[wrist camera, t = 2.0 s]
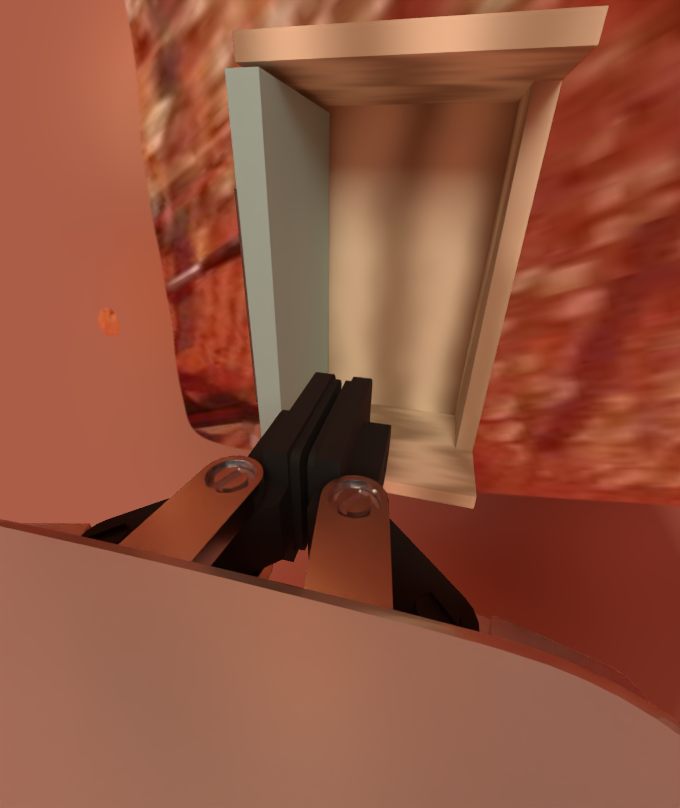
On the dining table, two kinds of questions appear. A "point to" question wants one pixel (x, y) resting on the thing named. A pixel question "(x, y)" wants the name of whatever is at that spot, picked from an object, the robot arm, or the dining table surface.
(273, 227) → the panel
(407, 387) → the wooden tray crate
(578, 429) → the dining table surface
